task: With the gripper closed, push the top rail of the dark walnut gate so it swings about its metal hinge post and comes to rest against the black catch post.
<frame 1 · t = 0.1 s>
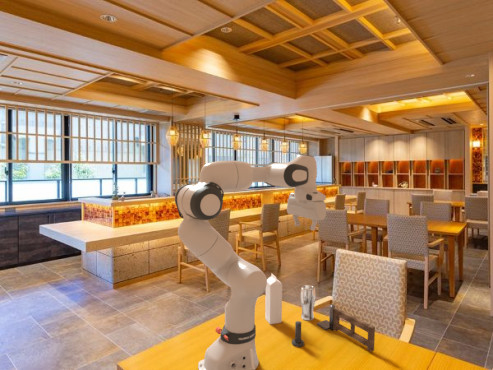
hand: (304, 227, 136), 48 cm above the table, tool pointing down, fingers open, 8 cm apart
gate: (353, 328, 138), point 6 cm above the table, hinge at 0.0°
catch post: (298, 343, 136), on the table
beer glass: (307, 318, 159), on the table
hinge post: (331, 329, 148), on the table
milk: (273, 321, 156), on the table
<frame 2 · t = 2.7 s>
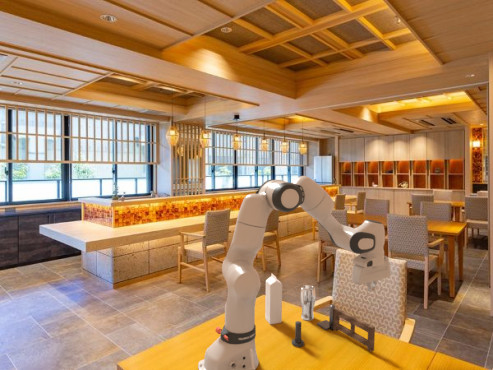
hand: (371, 290, 139), 21 cm above the table, tool pointing down, fingers closed
nothing on the table moved.
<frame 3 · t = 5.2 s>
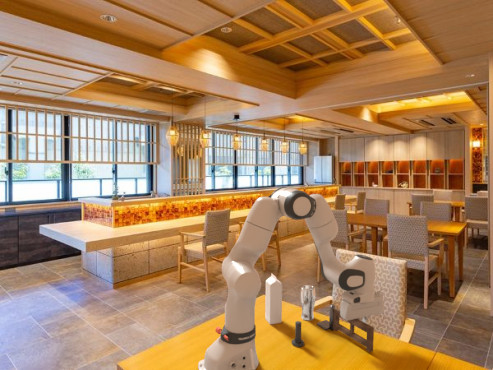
hand: (362, 326, 137), 7 cm above the table, tool pointing down, fingers closed
gate: (352, 328, 138), point 6 cm above the table, hinge at 1.7°, touching gripper
everything else where it was.
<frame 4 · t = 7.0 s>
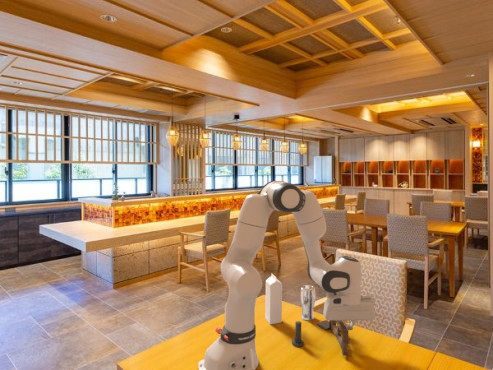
hand: (348, 329, 134), 7 cm above the table, tool pointing down, fingers closed
gate: (339, 330, 136), point 6 cm above the table, hinge at 32.3°, touching gripper
everything else where it was.
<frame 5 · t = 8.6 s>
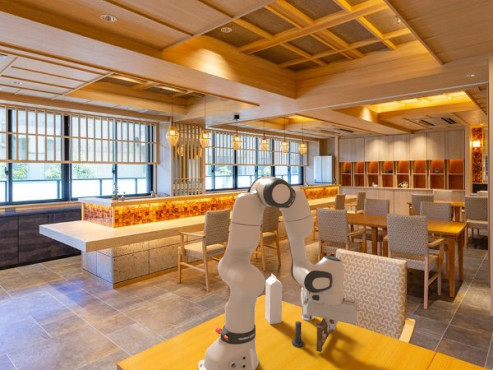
hand: (331, 329, 134), 7 cm above the table, tool pointing down, fingers closed
gate: (326, 328, 137), point 6 cm above the table, hinge at 59.2°, touching gripper
everything else where it was.
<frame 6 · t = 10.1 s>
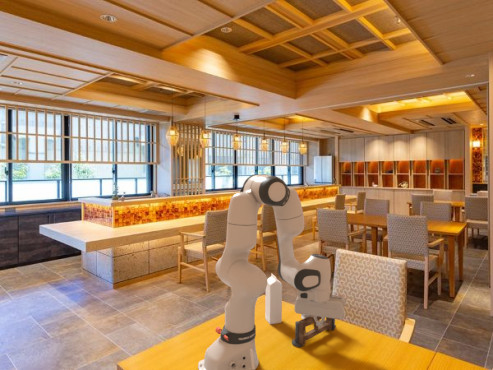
hand: (319, 325, 137), 7 cm above the table, tool pointing down, fingers closed
gate: (316, 325, 140), point 6 cm above the table, hinge at 80.6°, touching catch post, gripper
everything else where it was.
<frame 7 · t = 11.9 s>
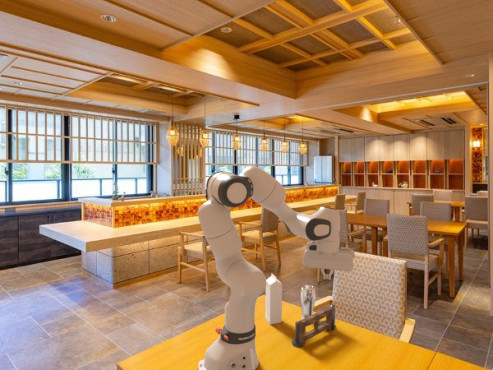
hand: (327, 279, 136), 27 cm above the table, tool pointing down, fingers closed
gate: (316, 325, 140), point 6 cm above the table, hinge at 80.6°, touching catch post
everything else where it was.
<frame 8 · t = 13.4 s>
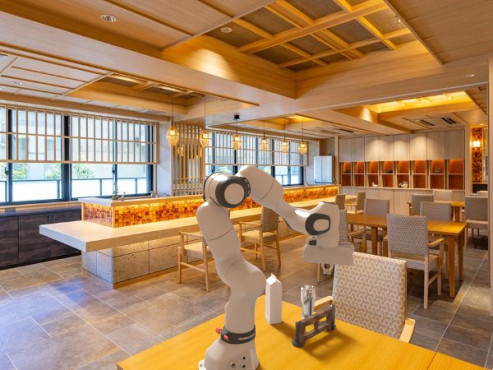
hand: (327, 273, 136), 29 cm above the table, tool pointing down, fingers closed
nothing on the table moved.
at the end: gate at +81° (first picture: +0°); beer glass moved 0.2 cm from its start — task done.
